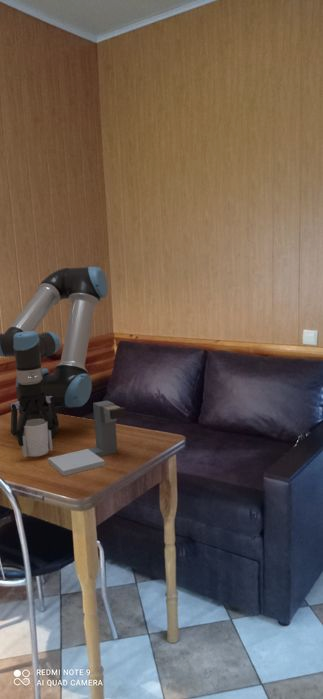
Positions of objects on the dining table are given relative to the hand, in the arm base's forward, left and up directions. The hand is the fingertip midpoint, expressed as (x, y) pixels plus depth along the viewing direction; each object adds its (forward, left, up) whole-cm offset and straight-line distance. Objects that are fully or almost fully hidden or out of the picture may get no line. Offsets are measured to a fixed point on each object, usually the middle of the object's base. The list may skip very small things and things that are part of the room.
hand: (37, 451), depth 169 cm
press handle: (+16, +20, +9) cm, 27 cm away
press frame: (+13, +12, -2) cm, 18 cm away
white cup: (0, 0, -1) cm, 1 cm away
